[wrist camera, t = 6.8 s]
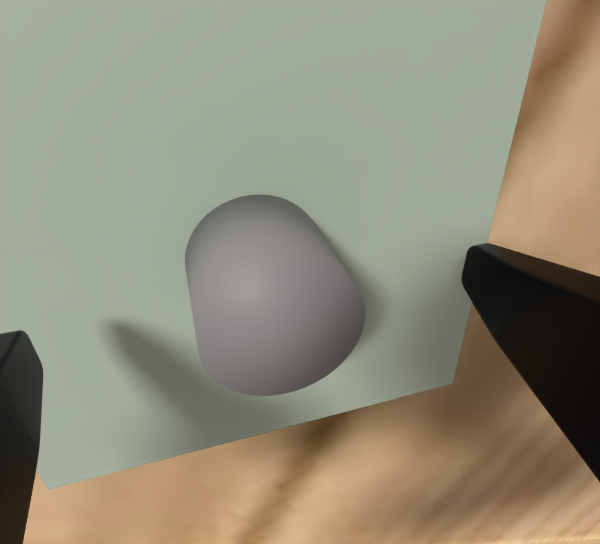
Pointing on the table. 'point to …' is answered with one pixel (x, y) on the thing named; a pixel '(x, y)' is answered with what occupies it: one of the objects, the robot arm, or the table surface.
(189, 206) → the lid
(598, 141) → the table surface
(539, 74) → the table surface
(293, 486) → the table surface
